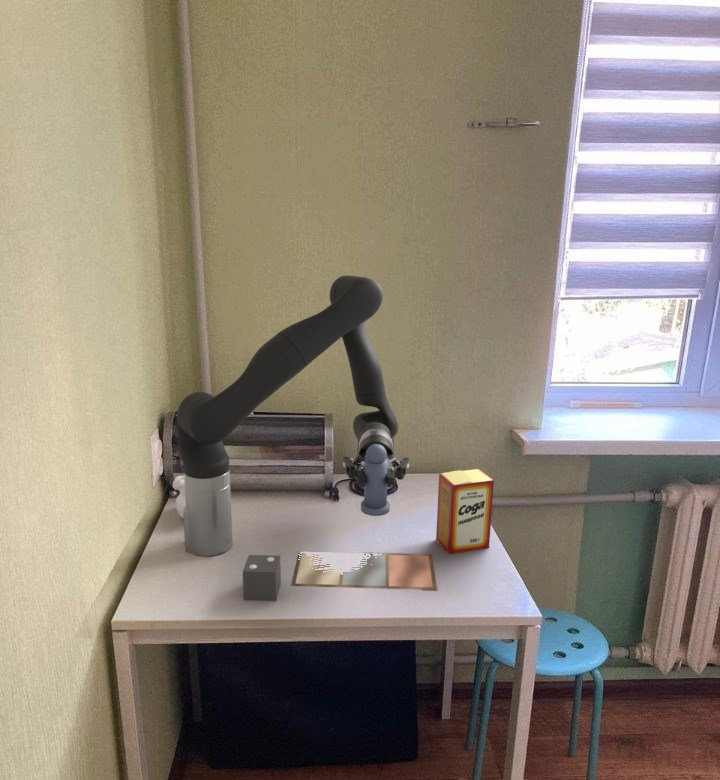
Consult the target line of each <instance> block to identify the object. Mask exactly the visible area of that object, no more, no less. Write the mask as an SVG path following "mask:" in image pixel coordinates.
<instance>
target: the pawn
mask: <svg viewBox="0 0 720 780" xmlns="http://www.w3.org/2000/svg"><path fill="white" fill-rule="evenodd" d="M386 457H387V452H386V449H385V448H384V447H383V446H382V445H379V444H374V445H371V446H370V447H369V448H368V449H367V451H366V458H367V459H365V487H363V488H364V490H363V491H364V492H363V495H364V496H363V498H364V499H363V500H362V501H361V502H360V511H361V512H362V513H363V514H365V515H367V516H371V517H372V516H373V517H380V516H381V517H382V516H385V515H387V514H388V513H389V512H390V511H391V510H390V501H388V500H387V499H388V487H387V470H388V460H387V459H386Z"/></svg>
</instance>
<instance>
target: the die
mask: <svg viewBox="0 0 720 780" xmlns="http://www.w3.org/2000/svg"><path fill="white" fill-rule="evenodd" d="M281 569H282V568H281V555H271V554H270V555H268V554H267V555H266V554H263V555H262V554H248V557H247V559H246V561H245V564H244V567H243V569H242V591H243V601H256V602H257V601H260V602H261V601H263V602H265V601H266V602H277V599H278V595H279V592H280V588H281V584H282V581H281V580H282V577H281V574H282V573H281Z"/></svg>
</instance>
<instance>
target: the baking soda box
mask: <svg viewBox="0 0 720 780" xmlns="http://www.w3.org/2000/svg"><path fill="white" fill-rule="evenodd" d="M494 485H495V480H494V479H493V478H491V476H489V475H488V474H486V473H485V472H484V471H483V470H481V469H480V468H475V469H474V468H473V469H465V470H461V469H459V470H453V471H446V472H441V473H440V472H439V475H438V490H437V491H438V494H437V495H438V496H437V511H436V512H437V513H436V514H437V515H436V536H435V540H436V542H437V543H438V542H439V543H440V544H441V545H440V544H439V543H438V544H439V545H440V546H441V547H442V548H443V550H445V552H446V553H447V554H448V555H452V554H457V553H464V552H465V553H466V552H471V551H472V552H473V551H477V550H483V549H488V548H490V540H491V539H490V538H491V527H492V526H491V524H492V513H493V512H492V511H493V498H494V497H493V496H494Z"/></svg>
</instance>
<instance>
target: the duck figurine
mask: <svg viewBox="0 0 720 780" xmlns="http://www.w3.org/2000/svg"><path fill="white" fill-rule="evenodd" d="M172 489H174V490H176V491H179V495H178V496H177V497H176V500H175V502H176V507H175V508H176V512H177V513H178V515H179V516H180V517H181V518H182V519H183V509H184V508H185V506H186V498H185V481H184V474H182V475H178V476H176V477H175V478H174V480H173V482H172Z"/></svg>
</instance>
